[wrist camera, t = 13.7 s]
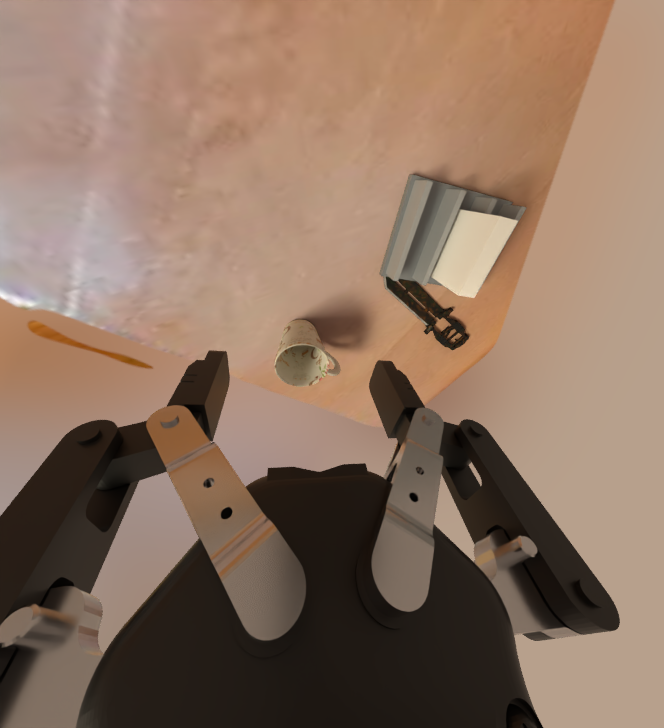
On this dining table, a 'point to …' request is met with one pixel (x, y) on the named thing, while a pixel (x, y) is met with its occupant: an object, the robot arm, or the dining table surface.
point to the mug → (303, 356)
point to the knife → (426, 310)
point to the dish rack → (432, 226)
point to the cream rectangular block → (471, 251)
